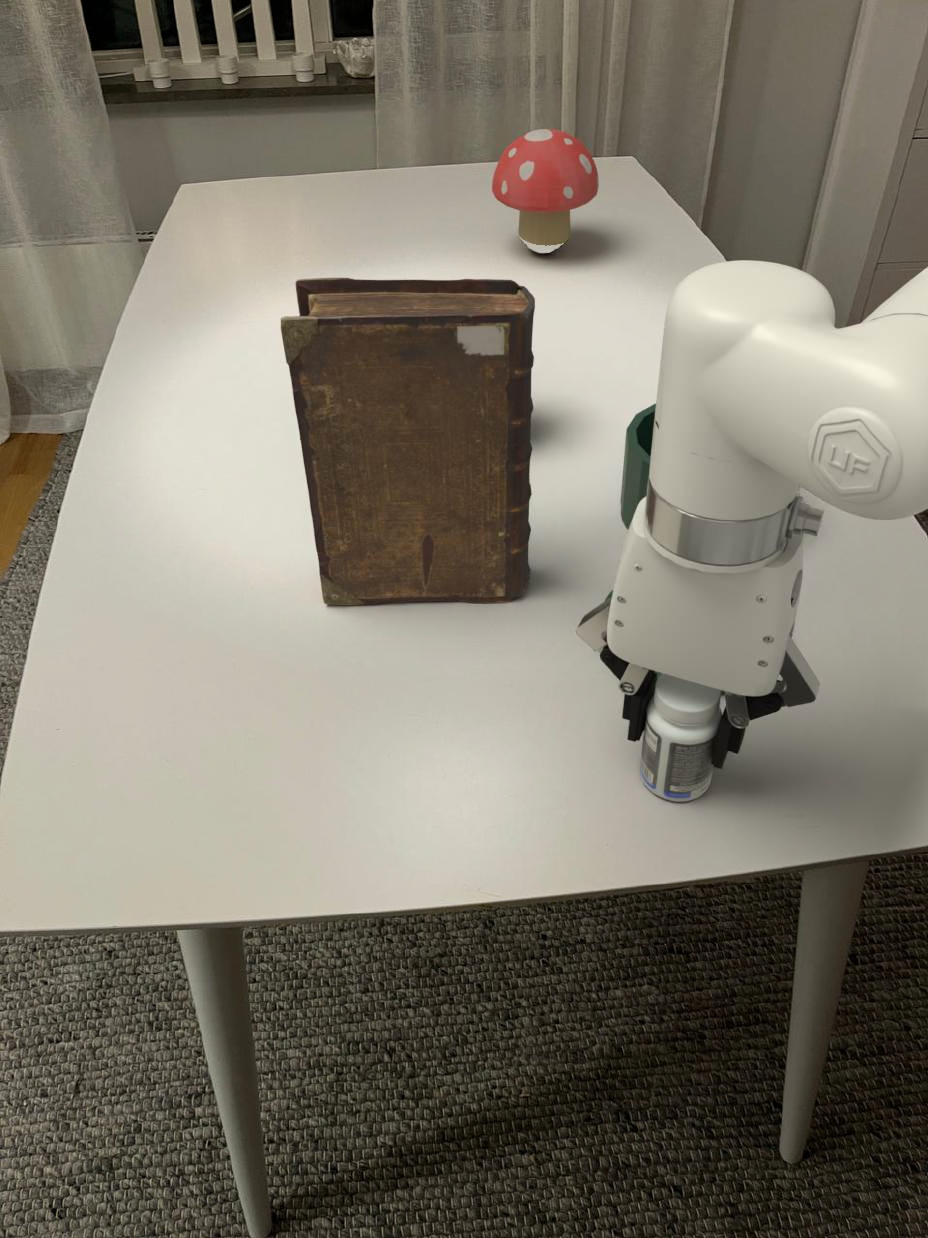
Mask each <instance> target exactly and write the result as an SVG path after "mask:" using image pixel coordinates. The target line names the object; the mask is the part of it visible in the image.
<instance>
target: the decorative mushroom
mask: <svg viewBox="0 0 928 1238" xmlns="http://www.w3.org/2000/svg"><path fill="white" fill-rule="evenodd" d="M494 169H495V170H494V172H493V177H492V183H491V191H492V194H493V196H494V198H495V199H496V200H497V201H498V202H500V203H501V204H502V205H504V206H505V207H507V208H511V209H513V210H516V211H519V217H518V234H519V236H520V237H521V238H522V239H523V240H525V241H527V242H529V243H532V244H536V245H545V246H547V245H549V246H550V245H557V244H562V243H564V242H566V241H567V240H568V239H569V238H570V239H571V210H574V209H575V210H576V209H577V208H578V209H579V208H580V207H583V206H584V205H587V204H589V203H590V202H591V201H592V200H593V199H594V198H595V197H596V196H597V195H598V192H599V188H600V187H599V182H600V181H599V173H598V167H597V165H596V163H595V160H594V158H593V157H592V154H591V153H590V152H589V150H588V149H587V148H586V146H585V145H584V144H583V142H581V141H580V140H579V139H578V138H576V137H575V136H574V135H572V134H570V133H568V132H565V131H562V130H559V129H555V128H540V129H535V130H532V131H529V132H526V133H524V134H523V135H520V136H519V137H518V138H516V139H515V140H514V141H512V142H511V143H510V144H509V145H508V146H507V147H506V149H505V150H503V152H502V154H501V156H500V158H499V160H498V162H497V164H496V167H495V168H494ZM518 234H517V235H518ZM519 236H518V237H519ZM570 239H569V240H570ZM569 240H568V241H569ZM568 241H567V242H568ZM567 242H566V243H567Z"/></svg>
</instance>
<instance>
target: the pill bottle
mask: <svg viewBox="0 0 928 1238" xmlns="http://www.w3.org/2000/svg"><path fill="white" fill-rule="evenodd" d="M721 697H722V690H719V689H716V688H712V687H709V686H705V685H702V684H698V683H695V682H691V681H688V680H684V679H681V678H677V677H674V676H671V675H667V674H664V673H662V674H661V675H660V676H659V677H658V679H657V681H656V685H655V692H654V696H653V697H652V698H651V700H650V701H649V703H648V706H647V709H646V719H645V727H644V731H643V735H642V736H643V737H642V745H641V753H640V754H641V755H640V762H639V774H640V778H641V780H642V783H643V785H644V786H645V787H646V788H647V789H648V790H649V791H650V792H651V793H652V794H654V795H656V796H657V797H659V798H661V799H663V800H667V801H671V802H677V803H680V802H689V801H692V800H695V799H697V798H700V797H701V796H702V795H703V794H704V793H705V792H706V791H707V790H708V788H710V787H709V786H710V784H711V782H712V778H713V773H714V768H715V767H713V766H714V765H713V764H711V760H712V755H713V750H714V745H715V739H716V734H717V729H718V725H719V722H720V719H721V717H722V714H723V712H722V709H721Z"/></svg>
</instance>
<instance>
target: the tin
mask: <svg viewBox="0 0 928 1238" xmlns="http://www.w3.org/2000/svg"><path fill="white" fill-rule="evenodd" d="M655 409H656V403H654V404H651V405H650V406H648V407H647V408H645V409H643V410H641V411H639V412H637V413H636V414H635V415H634V416H633V418H632V420H631V422H630V423H629V424H628V426H627V427H626V431H625V443H624V453H623V454H624V455H623V465H622V467H623V468H622V478H621V490H620V500H619V501H620V516H621V517H620V518H621V520H622V522H623V525H624V526H625V528H626V530H627V531H628V530H629V527H630V524H631V522H632V519H633V516H634V513H635V511H636V508H637V506H638V504H639V502H640V501H641V500H642V499H643V498H644V497H646V495H647V485H648V475H649V470H650V459H651V449H652V439H653V429H654V419H655Z"/></svg>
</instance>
